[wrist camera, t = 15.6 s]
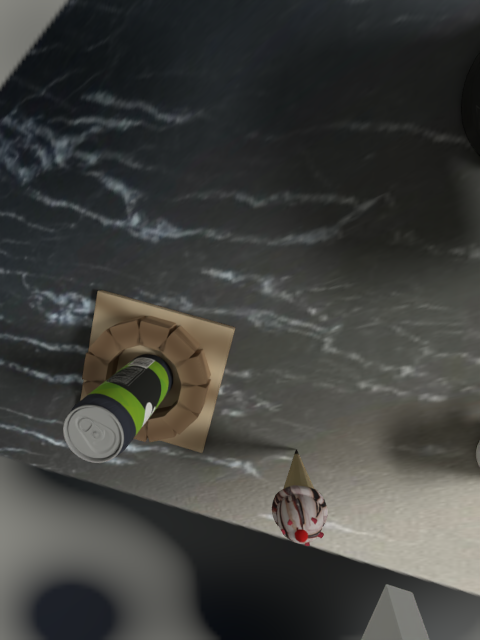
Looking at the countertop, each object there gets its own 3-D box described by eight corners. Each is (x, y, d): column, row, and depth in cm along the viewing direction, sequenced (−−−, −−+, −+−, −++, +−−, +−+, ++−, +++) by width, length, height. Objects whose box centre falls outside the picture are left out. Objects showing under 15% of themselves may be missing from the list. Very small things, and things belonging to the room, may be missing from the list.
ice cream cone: (267, 455, 48) (260, 548, 34) (287, 422, 47) (288, 503, 33) (304, 475, 48) (313, 575, 34) (325, 442, 47) (344, 532, 32)
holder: (101, 290, 46) (84, 294, 42) (235, 327, 45) (230, 335, 41) (82, 412, 50) (65, 426, 47) (203, 448, 49) (196, 466, 46)
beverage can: (120, 374, 47) (47, 433, 33) (149, 342, 46) (86, 389, 31) (154, 405, 48) (98, 478, 33) (184, 375, 46) (139, 436, 32)
